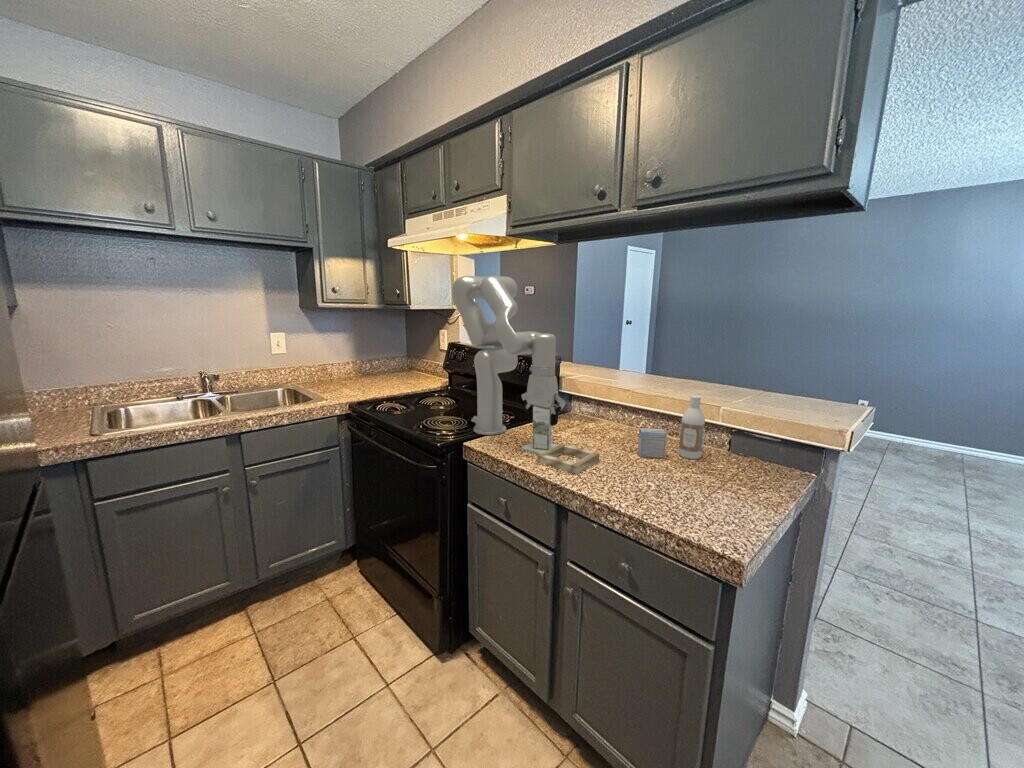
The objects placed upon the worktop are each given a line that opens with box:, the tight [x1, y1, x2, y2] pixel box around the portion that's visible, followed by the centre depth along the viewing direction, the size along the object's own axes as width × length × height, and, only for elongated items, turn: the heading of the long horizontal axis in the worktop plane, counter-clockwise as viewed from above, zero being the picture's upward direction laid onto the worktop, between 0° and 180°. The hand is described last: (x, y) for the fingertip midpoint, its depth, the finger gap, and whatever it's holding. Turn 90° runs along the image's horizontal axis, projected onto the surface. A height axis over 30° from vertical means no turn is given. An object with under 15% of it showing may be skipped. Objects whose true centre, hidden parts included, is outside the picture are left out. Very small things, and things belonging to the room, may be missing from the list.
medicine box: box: [637, 427, 668, 459], centre depth 137 cm, size 8×4×9 cm, turn 84°
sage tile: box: [520, 441, 559, 455], centre depth 142 cm, size 10×10×1 cm
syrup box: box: [532, 405, 553, 450], centre depth 141 cm, size 6×6×14 cm
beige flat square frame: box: [537, 443, 600, 475], centre depth 131 cm, size 14×14×2 cm
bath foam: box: [678, 395, 706, 460], centre depth 136 cm, size 7×7×20 cm
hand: (542, 422), depth 141 cm, fingers open, 9 cm apart
